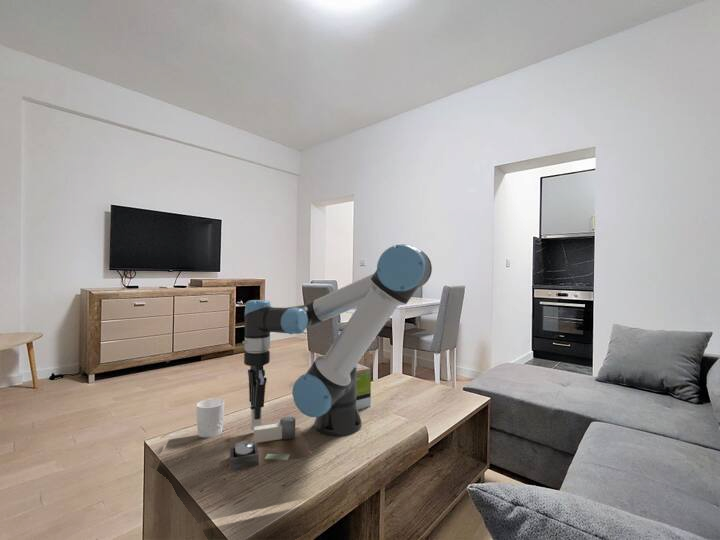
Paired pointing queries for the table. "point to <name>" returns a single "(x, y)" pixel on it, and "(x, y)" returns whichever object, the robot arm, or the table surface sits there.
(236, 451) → the button
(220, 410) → the white cup
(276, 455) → the board
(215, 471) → the table surface
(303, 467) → the table surface
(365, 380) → the tea box
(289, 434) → the peg lever
